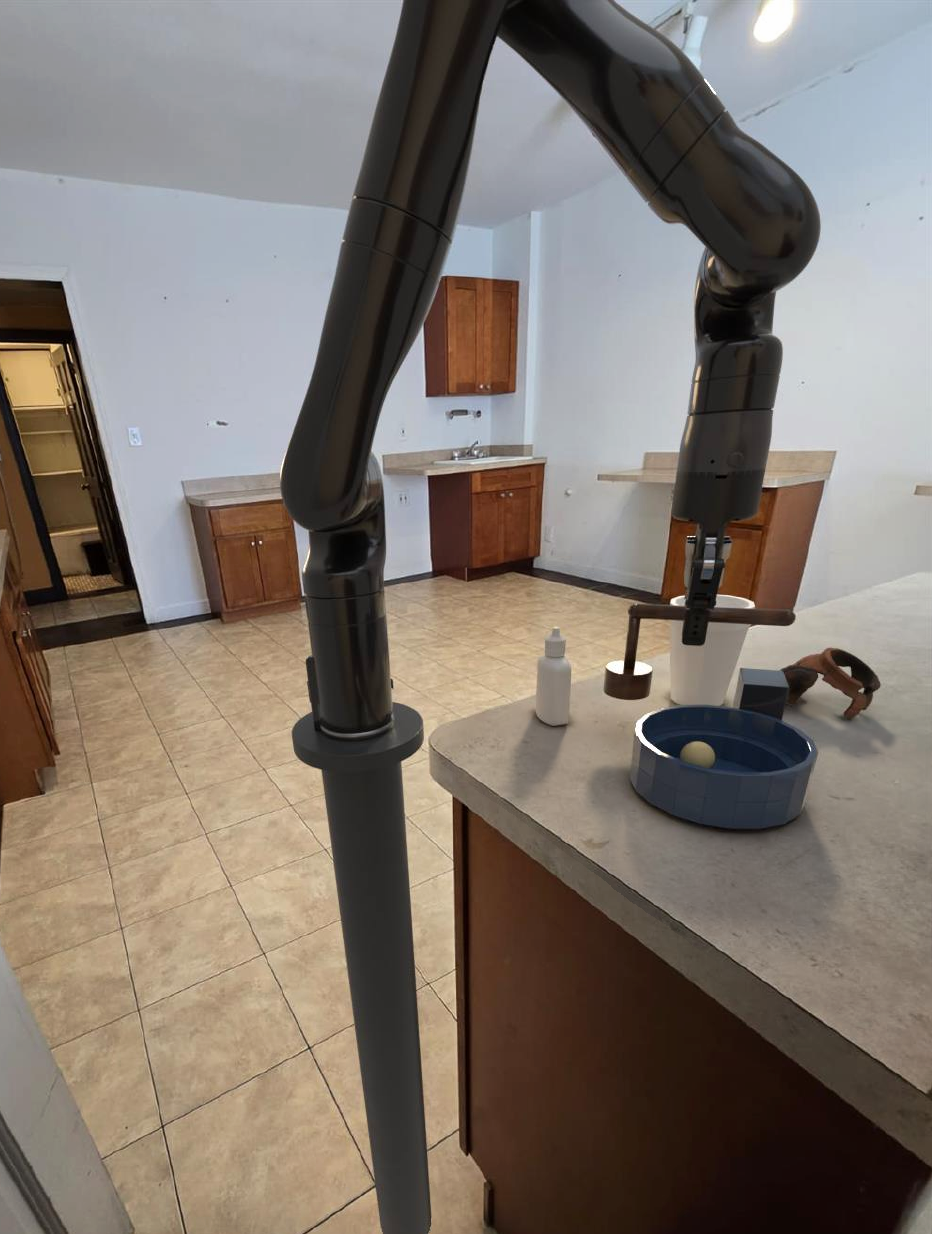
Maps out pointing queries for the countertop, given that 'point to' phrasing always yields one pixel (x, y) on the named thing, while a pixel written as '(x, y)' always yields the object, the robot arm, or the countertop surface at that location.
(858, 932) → the countertop surface
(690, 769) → the bowl
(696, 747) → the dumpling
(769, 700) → the dark navy cube
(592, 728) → the countertop surface
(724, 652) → the foam cup
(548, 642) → the eye dropper bottle
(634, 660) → the ladle
